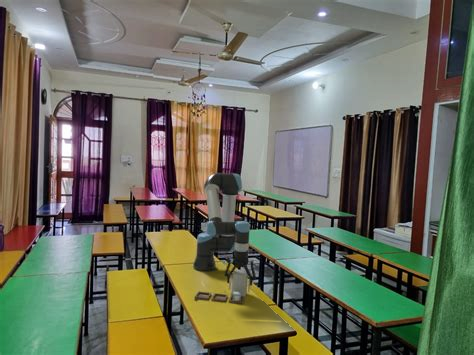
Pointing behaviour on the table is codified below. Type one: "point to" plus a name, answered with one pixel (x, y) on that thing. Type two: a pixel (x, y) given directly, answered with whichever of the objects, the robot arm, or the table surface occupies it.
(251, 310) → the table surface
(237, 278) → the cup
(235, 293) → the letter cube
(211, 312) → the table surface
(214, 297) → the tray
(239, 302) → the tray
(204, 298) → the tray
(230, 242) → the robot arm
